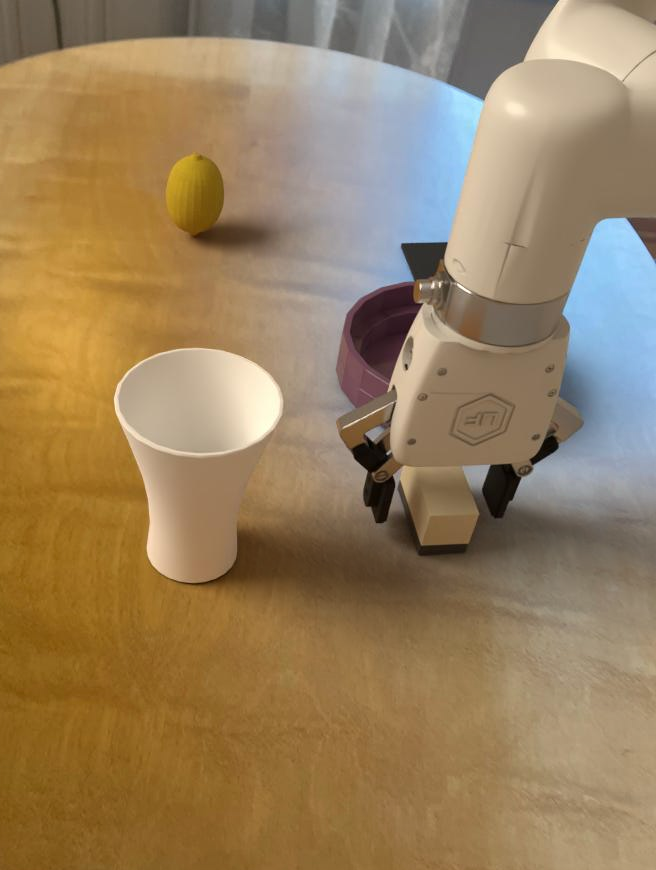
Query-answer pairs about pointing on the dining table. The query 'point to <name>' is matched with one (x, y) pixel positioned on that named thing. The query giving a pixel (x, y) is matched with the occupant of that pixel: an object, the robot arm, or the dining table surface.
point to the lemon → (195, 194)
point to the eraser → (438, 508)
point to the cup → (196, 451)
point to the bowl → (374, 341)
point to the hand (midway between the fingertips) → (434, 506)
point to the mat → (424, 258)
